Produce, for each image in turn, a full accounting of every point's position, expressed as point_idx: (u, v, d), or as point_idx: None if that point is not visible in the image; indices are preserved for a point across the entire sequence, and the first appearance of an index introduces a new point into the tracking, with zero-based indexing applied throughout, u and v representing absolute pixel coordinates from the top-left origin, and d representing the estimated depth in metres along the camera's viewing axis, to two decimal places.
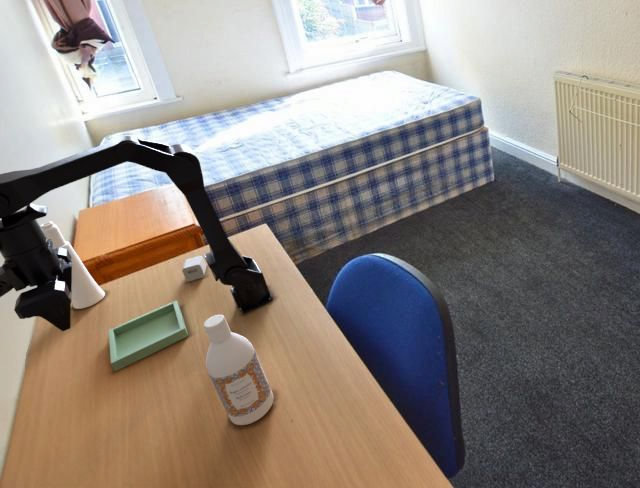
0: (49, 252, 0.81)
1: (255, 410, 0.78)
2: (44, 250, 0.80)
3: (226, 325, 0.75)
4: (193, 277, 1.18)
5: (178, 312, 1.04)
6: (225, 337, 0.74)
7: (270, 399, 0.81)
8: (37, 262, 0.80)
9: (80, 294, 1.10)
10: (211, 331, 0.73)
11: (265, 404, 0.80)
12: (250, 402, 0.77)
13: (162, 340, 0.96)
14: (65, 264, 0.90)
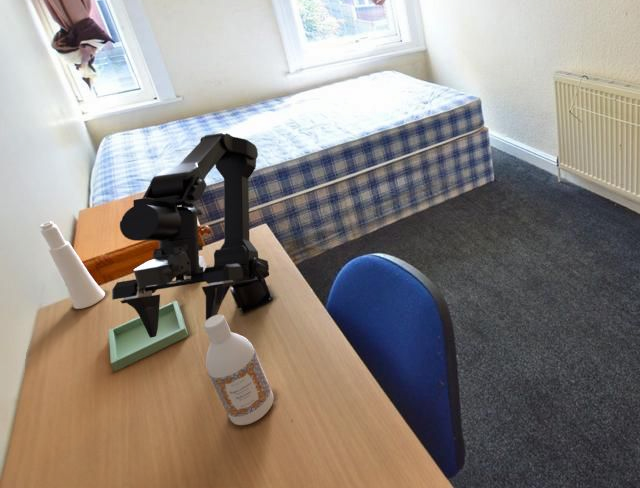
0: (201, 247, 0.86)
1: (255, 410, 0.78)
2: None
3: (226, 325, 0.74)
4: None
5: (178, 312, 1.04)
6: (225, 337, 0.74)
7: (270, 399, 0.81)
8: (198, 252, 0.84)
9: (80, 294, 1.10)
10: (211, 331, 0.73)
11: (265, 404, 0.80)
12: (250, 402, 0.77)
13: (162, 340, 0.96)
14: None
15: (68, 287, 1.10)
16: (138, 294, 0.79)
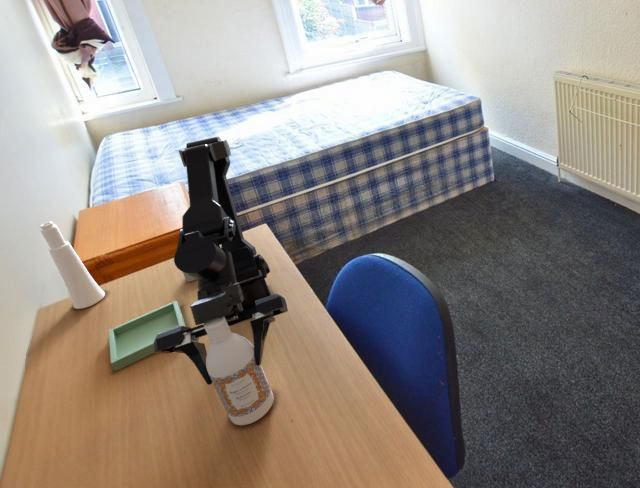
0: None
1: (255, 410, 0.78)
2: None
3: (227, 325, 0.74)
4: (193, 277, 1.18)
5: (178, 312, 1.04)
6: (225, 337, 0.74)
7: (270, 399, 0.81)
8: None
9: (80, 294, 1.10)
10: (211, 331, 0.73)
11: (265, 404, 0.80)
12: (250, 402, 0.77)
13: None
14: None
15: (68, 287, 1.10)
16: (191, 339, 0.76)
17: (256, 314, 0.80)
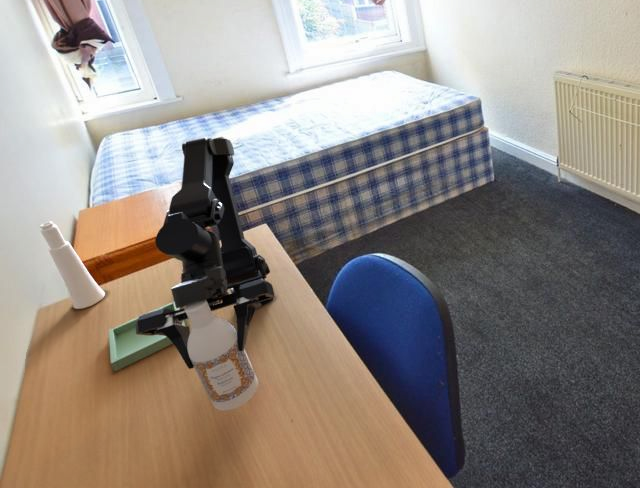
0: (225, 273, 0.83)
1: (238, 396, 0.77)
2: (223, 269, 0.82)
3: (208, 309, 0.73)
4: None
5: None
6: (206, 321, 0.72)
7: (254, 386, 0.80)
8: None
9: (80, 294, 1.10)
10: (191, 315, 0.71)
11: (248, 390, 0.78)
12: (232, 388, 0.76)
13: (162, 340, 0.96)
14: None
15: (68, 287, 1.10)
16: (173, 322, 0.74)
17: (241, 299, 0.78)
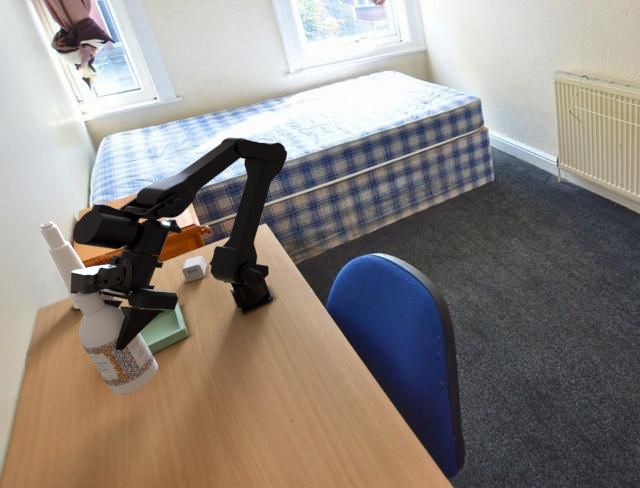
0: (161, 265, 0.85)
1: (116, 386, 0.80)
2: (160, 262, 0.85)
3: (92, 302, 0.76)
4: (193, 277, 1.18)
5: (178, 312, 1.04)
6: (87, 312, 0.76)
7: (138, 383, 0.82)
8: (151, 269, 0.83)
9: None
10: (76, 302, 0.76)
11: (128, 385, 0.81)
12: (109, 378, 0.79)
13: (162, 340, 0.96)
14: None
15: (68, 287, 1.10)
16: None
17: None
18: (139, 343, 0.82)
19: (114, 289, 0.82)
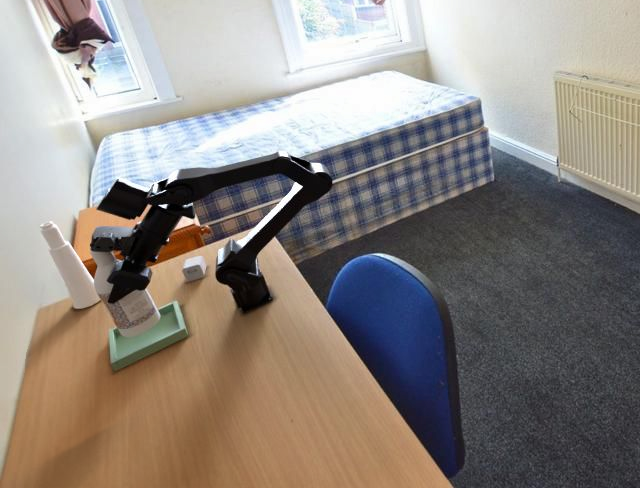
0: (166, 243, 0.94)
1: None
2: (165, 240, 0.93)
3: (98, 258, 0.89)
4: (193, 277, 1.18)
5: (178, 312, 1.04)
6: (96, 263, 0.90)
7: (128, 333, 0.94)
8: (152, 245, 0.92)
9: (80, 294, 1.10)
10: None
11: (121, 331, 0.94)
12: None
13: (162, 340, 0.96)
14: None
15: (68, 287, 1.10)
16: None
17: None
18: (134, 301, 0.94)
19: None
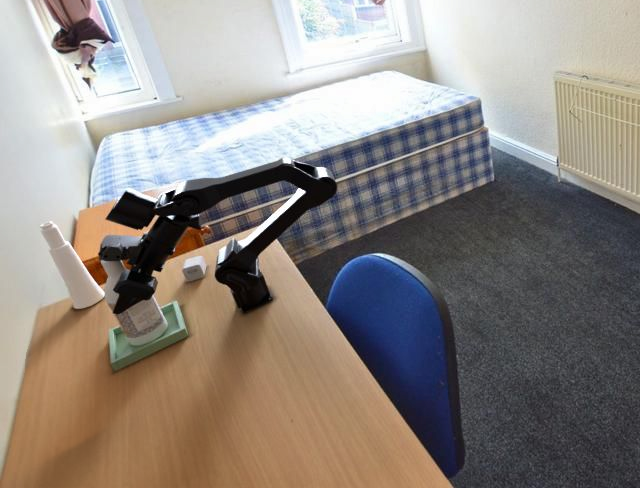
0: (172, 253, 0.95)
1: (125, 335, 0.97)
2: (171, 250, 0.95)
3: (108, 268, 0.92)
4: (193, 277, 1.18)
5: (178, 312, 1.04)
6: (107, 274, 0.92)
7: (136, 342, 0.96)
8: (159, 255, 0.94)
9: (80, 294, 1.10)
10: None
11: (129, 339, 0.96)
12: None
13: (162, 340, 0.96)
14: None
15: (68, 287, 1.10)
16: None
17: None
18: (142, 311, 0.95)
19: None
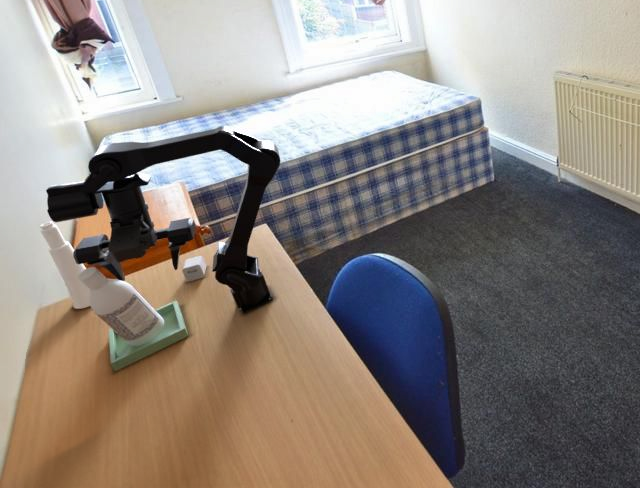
0: (147, 206, 0.94)
1: None
2: (146, 205, 0.94)
3: (88, 283, 0.88)
4: (193, 277, 1.18)
5: (178, 312, 1.04)
6: (88, 287, 0.89)
7: (135, 343, 0.96)
8: None
9: (80, 294, 1.10)
10: None
11: (128, 341, 0.96)
12: None
13: (162, 340, 0.96)
14: None
15: (68, 287, 1.10)
16: (102, 256, 0.90)
17: None
18: (135, 317, 0.94)
19: None
